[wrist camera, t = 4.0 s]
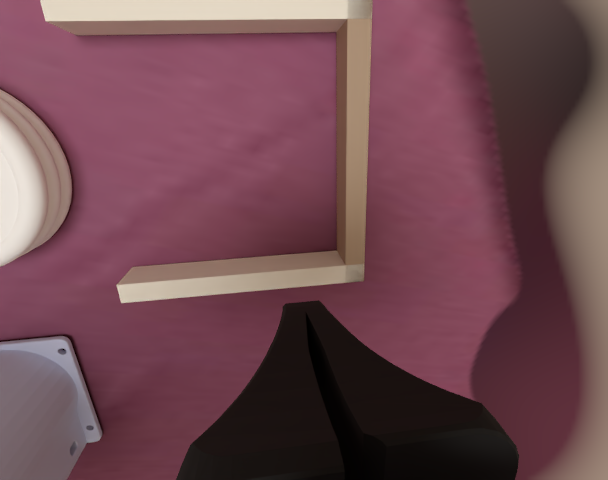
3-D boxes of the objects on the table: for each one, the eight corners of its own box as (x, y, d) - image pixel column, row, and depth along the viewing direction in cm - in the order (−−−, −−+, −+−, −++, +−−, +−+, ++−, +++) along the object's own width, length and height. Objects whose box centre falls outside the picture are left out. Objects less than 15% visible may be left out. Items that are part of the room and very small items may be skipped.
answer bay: (353, 264, 23) (363, 281, 21) (136, 283, 21) (121, 303, 19) (358, 6, 18) (372, -12, 15) (69, 7, 16) (36, -12, 14)
